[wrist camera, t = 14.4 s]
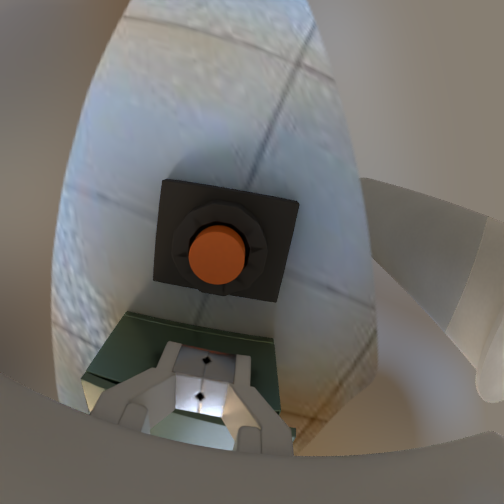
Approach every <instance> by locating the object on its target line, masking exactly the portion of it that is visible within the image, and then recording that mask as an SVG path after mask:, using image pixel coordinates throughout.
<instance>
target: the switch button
mask: <svg viewBox="0 0 504 504" xmlns="http://www.w3.org/2000/svg"><path fill="white" fill-rule="evenodd" d="M244 261H245V245H244V242H243V240H242V238H241V236H240V235H239V234H238V233H237V232H236V231H235V230H233V229H231V228H229V227H227V226H223V225H214V226H210V227H208V228H206V229H204V230H203V231H201V232H200V233H199V234H198V236H197V237H196V239H195V240H194V242H193V244H192V245H191V247H190V250H189V263H190V266H191V269H192V270H193V272H194V273H195V274H196V276H197V277H199V278H200V279H201V280H203V281H205V282H207V283H210V284H216V285H220V284H225V283H228V282H231V281H232V280H234V279H235V278H236V277H237V276H238V275H239V274H240V273H241V271H242V269H243V267H244Z"/></svg>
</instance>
